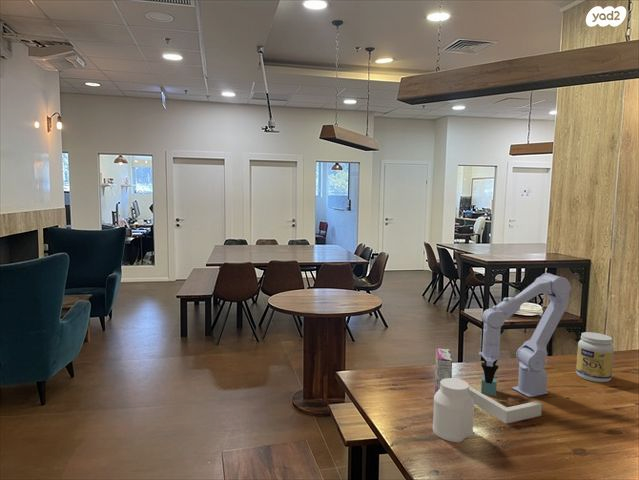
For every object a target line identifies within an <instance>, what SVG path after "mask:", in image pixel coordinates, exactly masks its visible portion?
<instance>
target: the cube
mask: <svg viewBox="0 0 639 480" xmlns="http://www.w3.org/2000/svg"><path fill="white" fill-rule="evenodd" d="M497 383H498V377H496V376H494V378H493V382H492V384H490V383H486V382H485V375H483V374H482V376H481V389H480V390H481V391H480V393H482V394H484V395H489V396H495V397H496V396H497Z"/></svg>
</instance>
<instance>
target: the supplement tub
mask: <svg viewBox="0 0 639 480" xmlns="http://www.w3.org/2000/svg"><path fill="white" fill-rule="evenodd" d="M612 343H613V338H612V337H611V336H610V335H606V334H604V333H598V332H594V331H593V332H590V331H585V332H581V335H580V340H579V341H578V342H577V352H576V353H577V354H576V363H575V364H576V365H575V366H576V367H575V373H576V374H577V376H579V377H580V378H581V379H585V380H587V381H590V382H595V383H608V382H609V381H611V380H612V377H613V367H614V366H613V365H614V356H615V355H614V353H615V348H614V345H613V344H612Z"/></svg>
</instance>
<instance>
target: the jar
mask: <svg viewBox="0 0 639 480" xmlns="http://www.w3.org/2000/svg"><path fill="white" fill-rule="evenodd" d="M469 386H470V384H469V383H468V382H467V381H465V380H462V379H459V378H454V377H452V378H446V379H442V380H441V381H440V389H439V390H438V391H437V392H436V394H435V393H434V396H433V420H432V431H433V433H434V435H435V436H437V437H439V438H440V439H442V440H445V441H446V442H447V441H448V442H450V443H451V442H452V443H461V442H463V440H464V439H467V438H470V437H472V436H473V435H474V430H473V429H474V428H473V426H474V411H475V409H474V407H475V404H474V400H473V399H472V397H471V396H470V394H469Z"/></svg>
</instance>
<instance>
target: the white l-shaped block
mask: <svg viewBox="0 0 639 480" xmlns="http://www.w3.org/2000/svg"><path fill="white" fill-rule="evenodd" d="M469 394H470V396H471V397H472V399H473V400H474V406H476V407H478V408H480V409H482V411H485V412H486V413H487V414H490V415H491V416H493V417H494V418H496V419H497V420H499V421H501V422H502V423H504V424H506V425H507V424H511V423H515V422H519V421H524V420H528V419H533V418H536V417H541V416H542V409H543V403H541V402H540V401H538V400H535V401H531V402H527V403H522V404H517V405H513V406H508V407H507V406H505V405H503V404H501V403H500V402H497V401H496V400H494V399H493V398H491V397H489V396H487V394H482V393H481V391H478V390H477V389H475V388H473V387H472V386H470V385H469Z"/></svg>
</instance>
